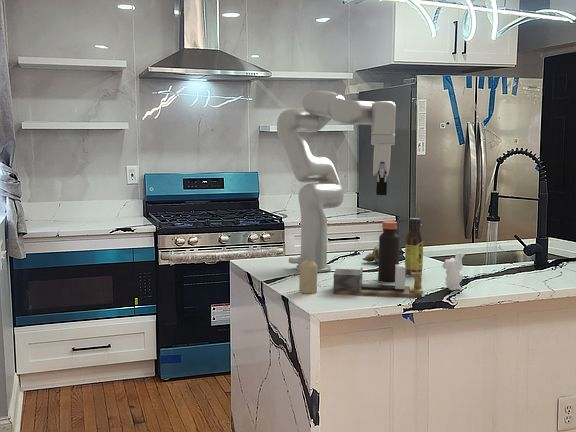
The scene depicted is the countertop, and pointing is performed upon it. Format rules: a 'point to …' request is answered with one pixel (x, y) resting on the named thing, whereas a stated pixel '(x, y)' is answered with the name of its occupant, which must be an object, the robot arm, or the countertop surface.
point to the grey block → (398, 280)
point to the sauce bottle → (414, 248)
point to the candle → (308, 277)
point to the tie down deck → (352, 282)
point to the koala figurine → (454, 272)
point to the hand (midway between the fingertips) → (381, 193)
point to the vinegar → (388, 252)
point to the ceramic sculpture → (373, 255)
